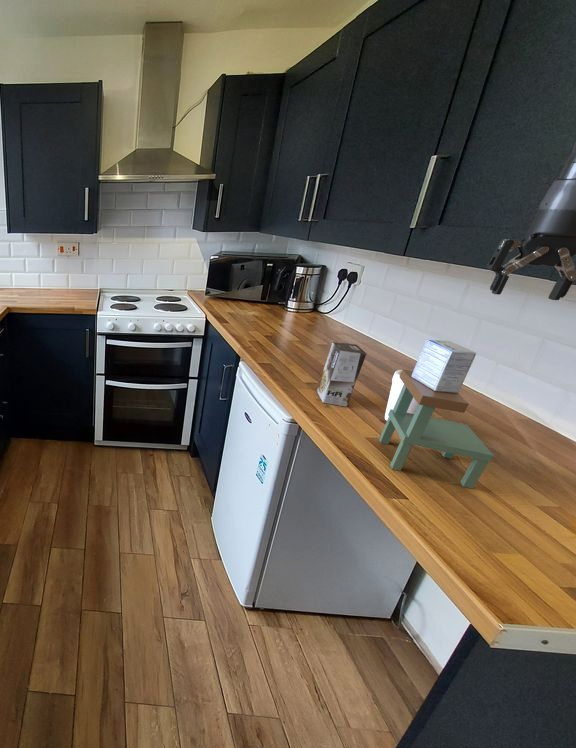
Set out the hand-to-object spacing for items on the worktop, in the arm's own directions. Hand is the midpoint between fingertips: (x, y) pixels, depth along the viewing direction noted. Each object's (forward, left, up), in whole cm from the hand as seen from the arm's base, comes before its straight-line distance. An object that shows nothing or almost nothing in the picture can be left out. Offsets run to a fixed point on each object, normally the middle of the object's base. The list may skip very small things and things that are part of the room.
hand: (523, 296), depth 80 cm
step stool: (+7, +10, -36) cm, 38 cm away
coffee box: (+22, -18, -36) cm, 46 cm away
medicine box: (+11, +10, -18) cm, 24 cm away
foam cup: (+7, -11, -36) cm, 39 cm away
